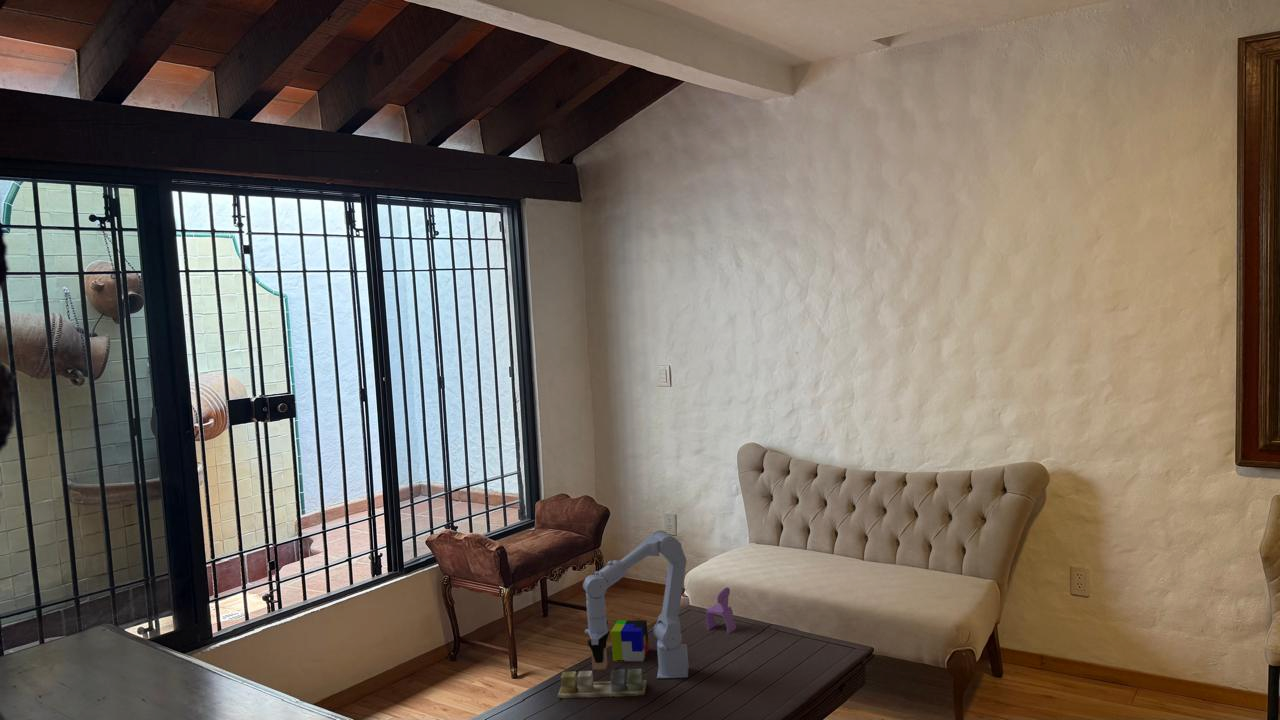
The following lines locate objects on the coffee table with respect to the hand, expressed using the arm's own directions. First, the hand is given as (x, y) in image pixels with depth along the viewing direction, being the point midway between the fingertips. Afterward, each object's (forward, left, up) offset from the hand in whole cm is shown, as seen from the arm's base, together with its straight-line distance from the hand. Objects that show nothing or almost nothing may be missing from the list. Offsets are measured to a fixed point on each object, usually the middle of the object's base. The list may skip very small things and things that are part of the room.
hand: (600, 659), depth 269 cm
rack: (0, +2, -9) cm, 9 cm away
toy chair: (-36, -45, -9) cm, 58 cm away
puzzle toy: (-6, -25, -9) cm, 27 cm away
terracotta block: (0, 0, -2) cm, 2 cm away
